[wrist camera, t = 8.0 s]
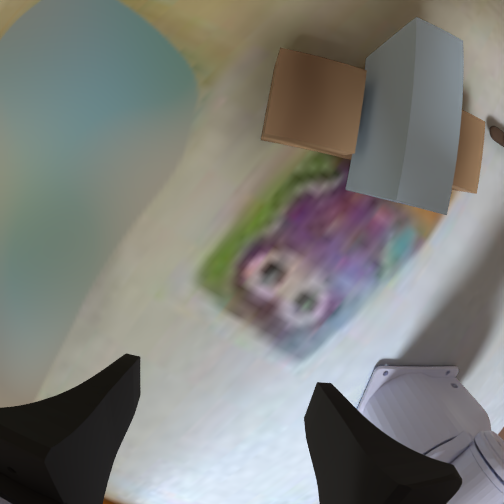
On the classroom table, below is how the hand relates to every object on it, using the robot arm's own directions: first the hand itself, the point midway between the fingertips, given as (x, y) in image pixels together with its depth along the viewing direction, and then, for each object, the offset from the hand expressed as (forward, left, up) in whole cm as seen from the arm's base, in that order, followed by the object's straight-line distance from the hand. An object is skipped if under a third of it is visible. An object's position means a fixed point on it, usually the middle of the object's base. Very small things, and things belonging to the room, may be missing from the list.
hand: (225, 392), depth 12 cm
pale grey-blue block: (-7, -13, -9) cm, 17 cm away
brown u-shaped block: (-7, -13, -10) cm, 18 cm away
